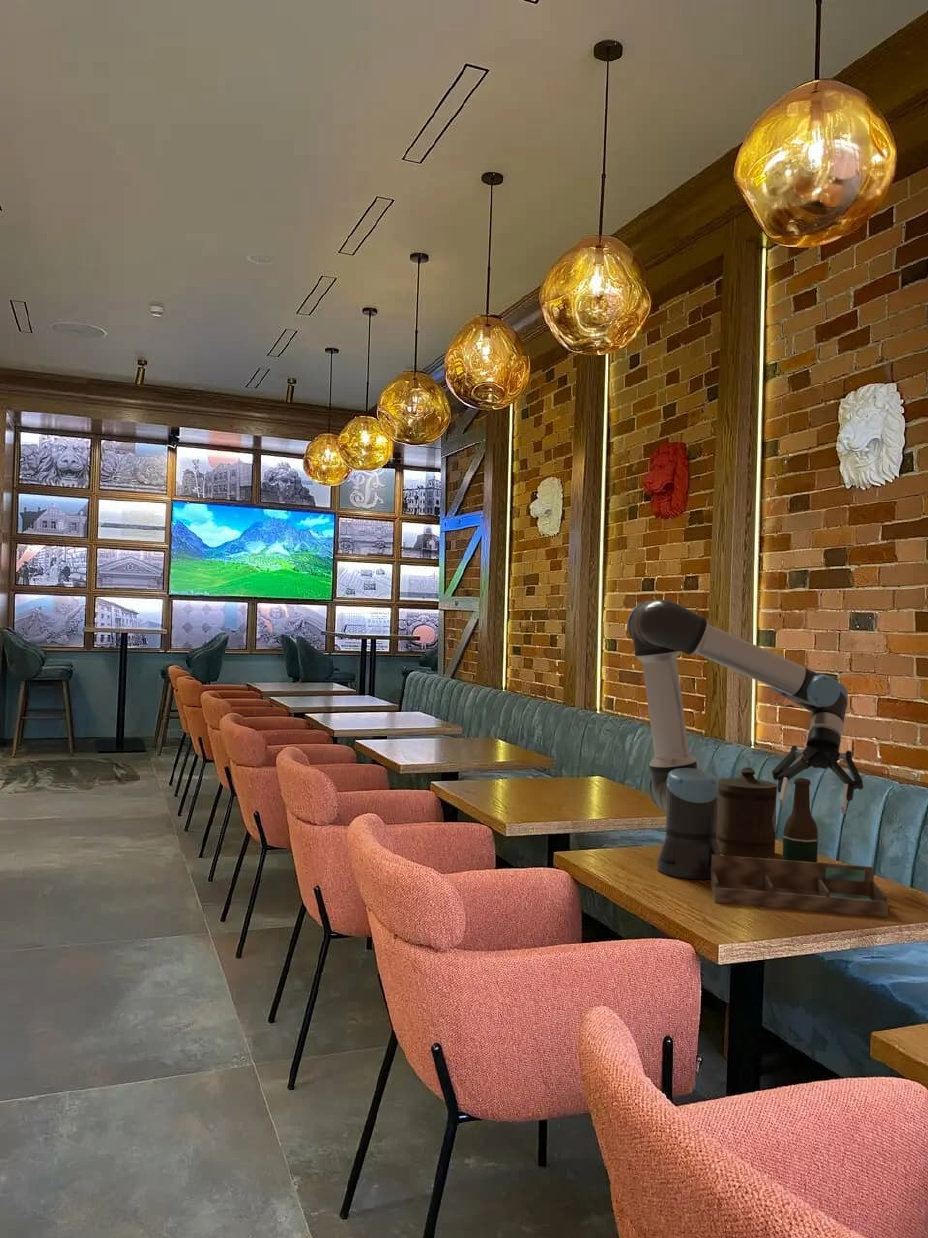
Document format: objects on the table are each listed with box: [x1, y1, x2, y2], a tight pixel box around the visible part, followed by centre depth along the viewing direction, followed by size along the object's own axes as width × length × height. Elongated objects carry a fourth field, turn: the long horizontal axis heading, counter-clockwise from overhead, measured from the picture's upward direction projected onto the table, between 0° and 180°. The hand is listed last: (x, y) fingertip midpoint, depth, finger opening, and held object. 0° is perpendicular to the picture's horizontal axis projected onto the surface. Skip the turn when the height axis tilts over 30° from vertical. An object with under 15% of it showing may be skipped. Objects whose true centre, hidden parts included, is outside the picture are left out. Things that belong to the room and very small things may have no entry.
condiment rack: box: [710, 854, 889, 918], centre depth 199 cm, size 34×13×7 cm, turn 79°
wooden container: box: [716, 766, 778, 859], centre depth 243 cm, size 15×15×22 cm
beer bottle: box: [782, 777, 819, 863], centre depth 212 cm, size 8×8×24 cm
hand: (811, 806), depth 217 cm, fingers open, 13 cm apart
